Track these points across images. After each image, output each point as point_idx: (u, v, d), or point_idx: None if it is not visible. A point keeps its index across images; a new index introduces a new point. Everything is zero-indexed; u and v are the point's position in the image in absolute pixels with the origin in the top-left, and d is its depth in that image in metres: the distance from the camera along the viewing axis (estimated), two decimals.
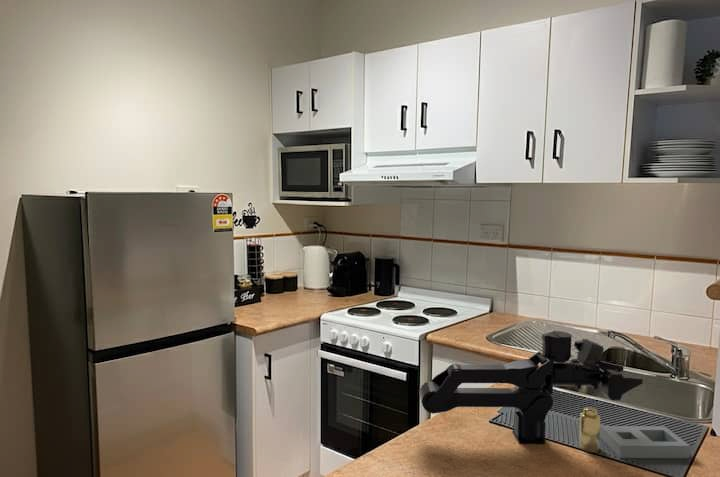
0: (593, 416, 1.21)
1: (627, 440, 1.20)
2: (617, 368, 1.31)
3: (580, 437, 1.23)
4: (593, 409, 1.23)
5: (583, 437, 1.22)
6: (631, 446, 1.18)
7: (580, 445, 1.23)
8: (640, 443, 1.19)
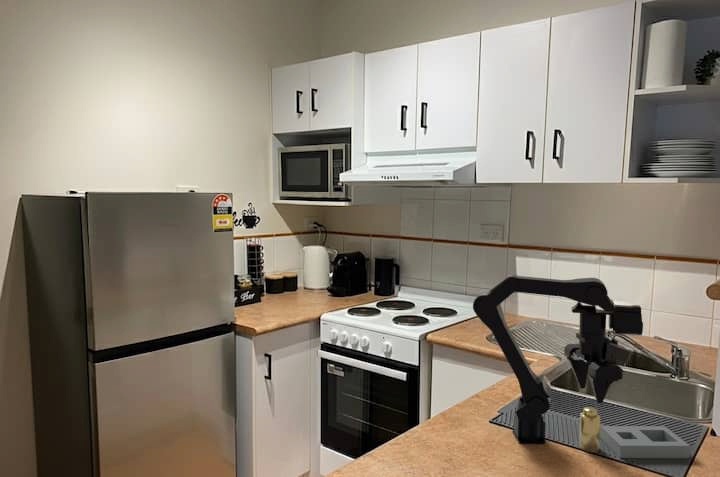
0: (593, 416, 1.21)
1: (627, 440, 1.20)
2: (583, 382, 1.27)
3: (580, 437, 1.23)
4: (593, 409, 1.23)
5: (583, 437, 1.22)
6: (631, 446, 1.18)
7: (580, 445, 1.23)
8: (640, 443, 1.19)
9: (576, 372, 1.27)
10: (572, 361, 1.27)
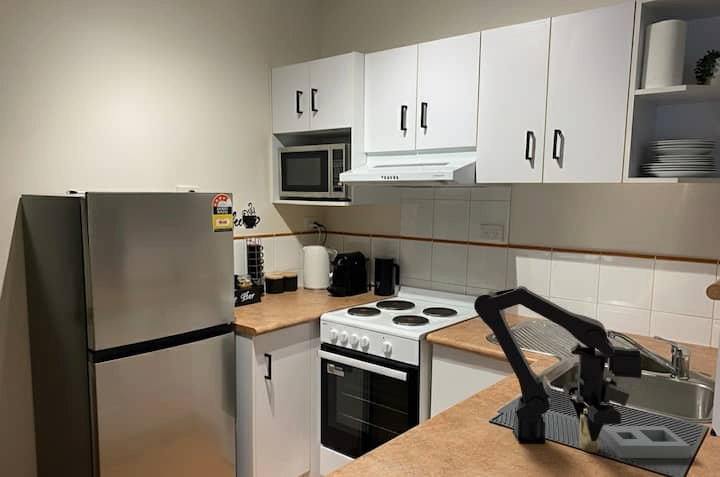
0: None
1: (627, 440, 1.20)
2: None
3: (580, 437, 1.23)
4: None
5: (583, 437, 1.22)
6: (631, 446, 1.18)
7: (580, 445, 1.23)
8: (640, 443, 1.19)
9: (578, 415, 1.25)
10: (575, 404, 1.25)
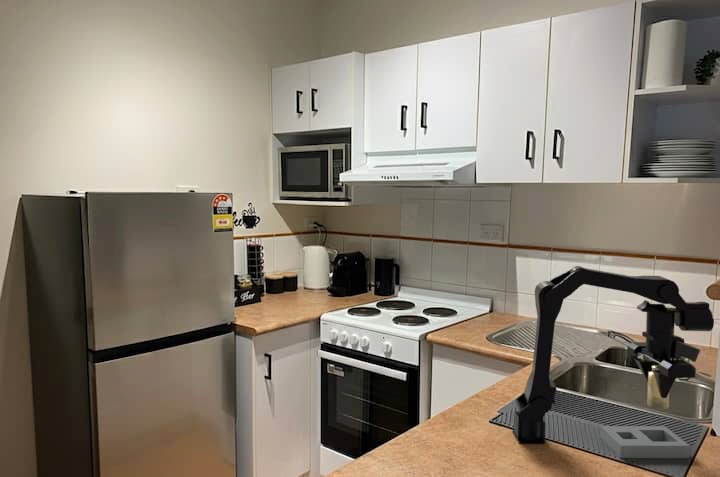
0: None
1: (627, 440, 1.20)
2: None
3: (649, 395, 1.22)
4: None
5: (652, 394, 1.21)
6: (631, 446, 1.18)
7: (649, 403, 1.22)
8: (640, 443, 1.19)
9: (646, 374, 1.24)
10: (641, 362, 1.24)
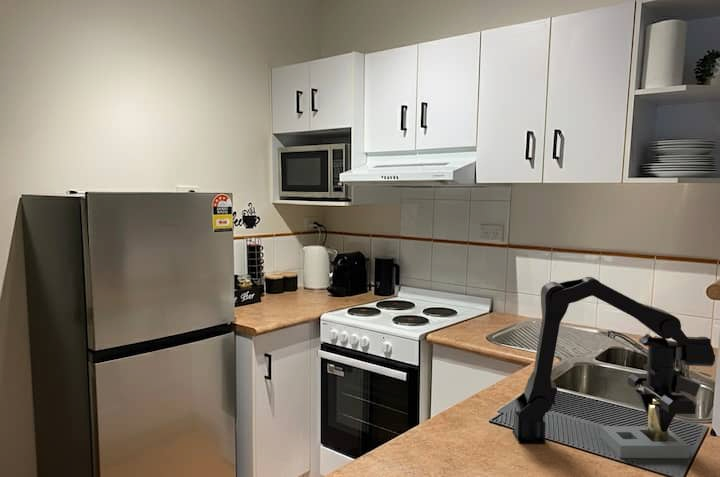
0: None
1: (627, 440, 1.20)
2: None
3: (649, 427, 1.23)
4: None
5: (652, 427, 1.22)
6: (631, 446, 1.18)
7: (649, 436, 1.23)
8: (640, 443, 1.19)
9: (646, 406, 1.25)
10: (642, 395, 1.25)
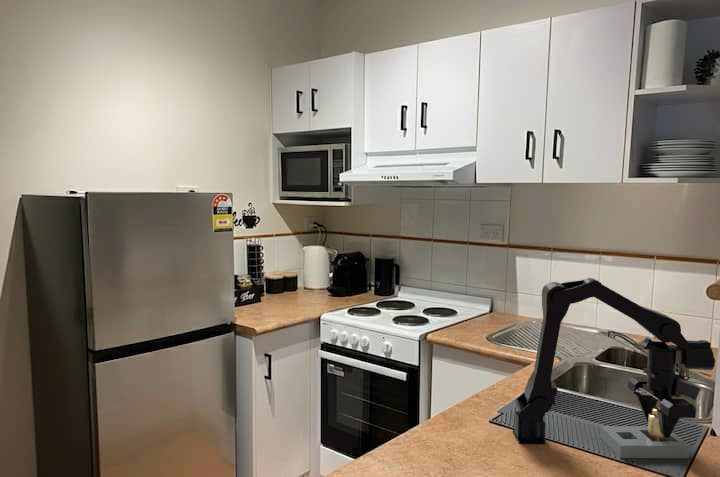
0: None
1: (627, 440, 1.20)
2: None
3: (649, 437, 1.23)
4: None
5: (652, 437, 1.22)
6: (631, 446, 1.18)
7: None
8: (640, 443, 1.19)
9: (644, 408, 1.26)
10: (640, 397, 1.26)
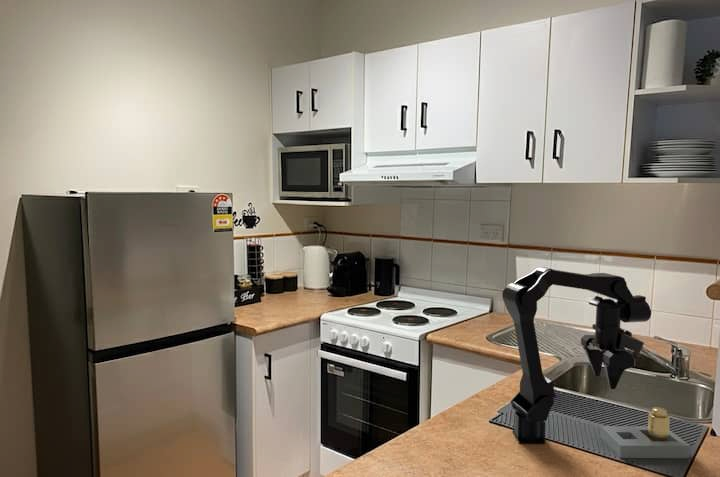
0: (663, 416, 1.21)
1: (627, 440, 1.20)
2: (597, 370, 1.36)
3: (649, 437, 1.23)
4: (662, 409, 1.22)
5: (652, 437, 1.22)
6: (631, 446, 1.18)
7: None
8: (640, 443, 1.19)
9: (591, 361, 1.36)
10: (588, 350, 1.36)
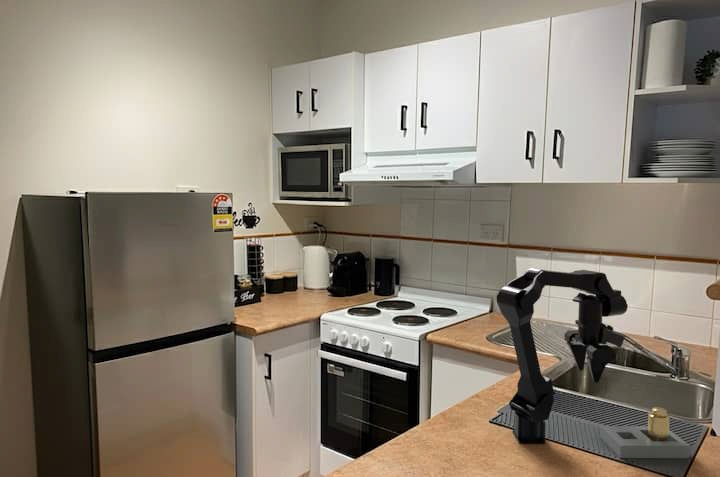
0: (663, 416, 1.21)
1: (627, 440, 1.20)
2: (581, 365, 1.39)
3: (649, 437, 1.23)
4: (662, 409, 1.22)
5: (652, 437, 1.22)
6: (631, 446, 1.18)
7: None
8: (640, 443, 1.19)
9: (575, 355, 1.40)
10: (571, 345, 1.40)
